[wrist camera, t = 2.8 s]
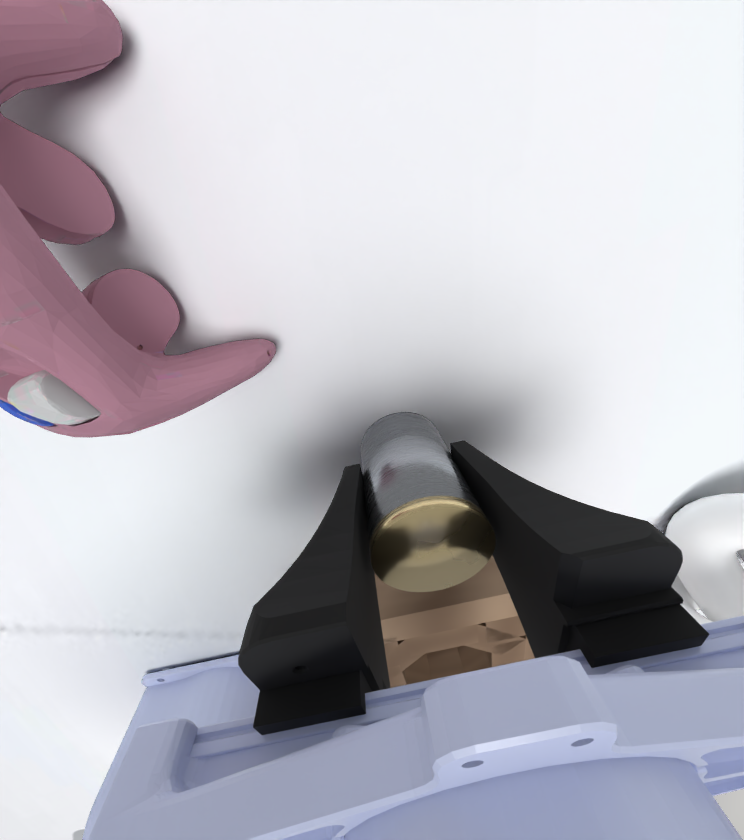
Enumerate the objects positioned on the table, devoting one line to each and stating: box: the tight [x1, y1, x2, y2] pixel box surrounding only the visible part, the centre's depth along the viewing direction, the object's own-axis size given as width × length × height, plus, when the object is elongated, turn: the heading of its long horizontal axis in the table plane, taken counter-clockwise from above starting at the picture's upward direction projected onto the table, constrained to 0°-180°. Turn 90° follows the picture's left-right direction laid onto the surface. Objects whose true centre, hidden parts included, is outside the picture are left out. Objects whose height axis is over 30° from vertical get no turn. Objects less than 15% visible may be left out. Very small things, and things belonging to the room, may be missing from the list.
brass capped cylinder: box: [361, 412, 496, 592], centre depth 12 cm, size 4×4×6 cm
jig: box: [375, 555, 535, 688], centre depth 20 cm, size 16×14×4 cm
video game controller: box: [0, 0, 276, 437], centre depth 8 cm, size 10×5×7 cm, turn 18°
